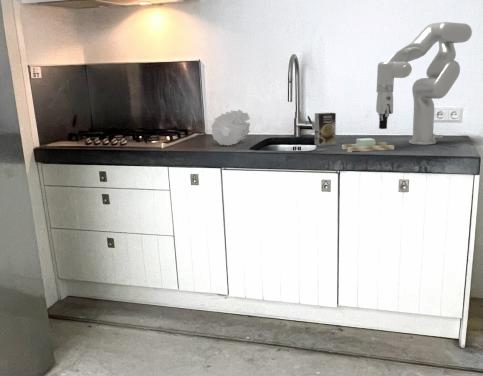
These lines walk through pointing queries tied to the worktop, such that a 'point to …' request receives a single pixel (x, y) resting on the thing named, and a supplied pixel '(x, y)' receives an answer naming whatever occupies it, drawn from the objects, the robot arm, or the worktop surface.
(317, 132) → the coffee box
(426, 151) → the worktop surface
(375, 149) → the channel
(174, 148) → the worktop surface
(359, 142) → the sage block
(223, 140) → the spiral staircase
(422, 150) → the worktop surface
